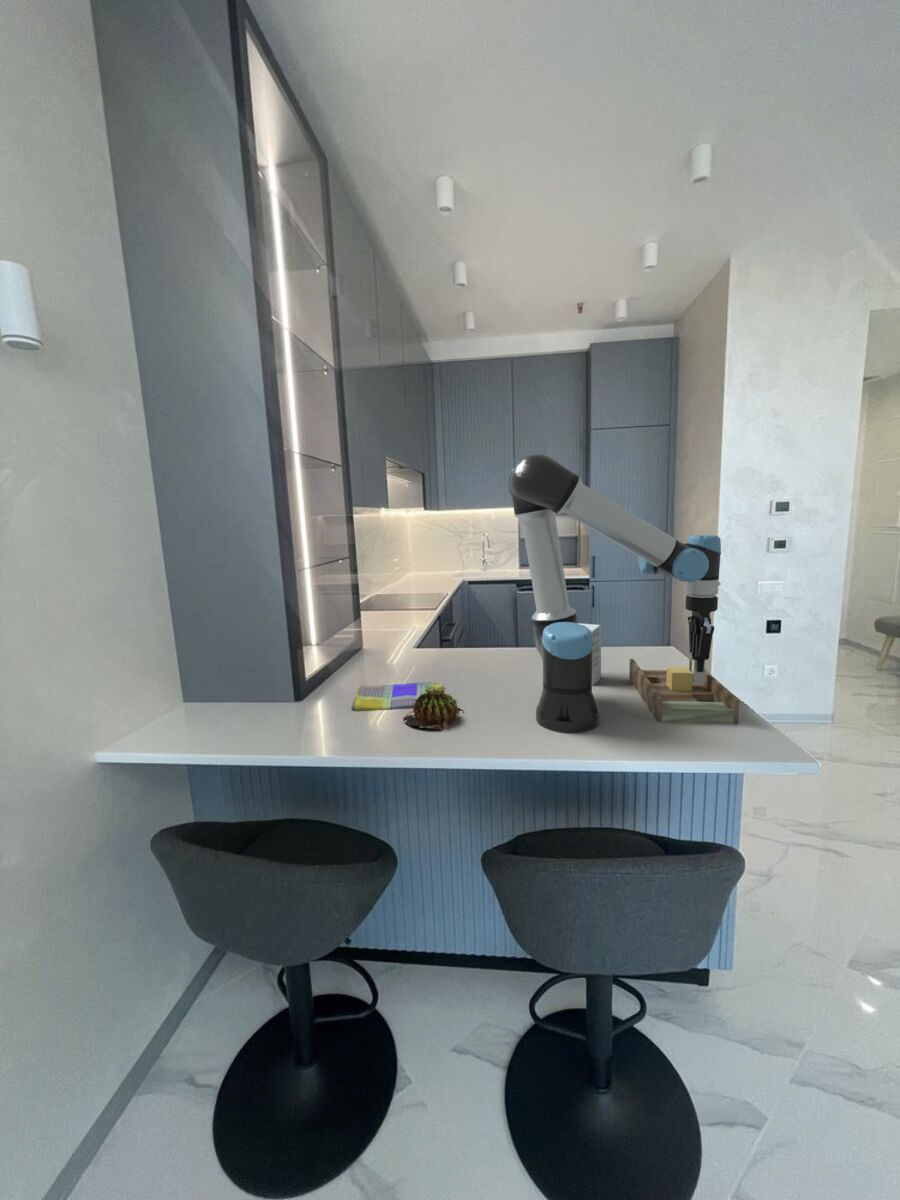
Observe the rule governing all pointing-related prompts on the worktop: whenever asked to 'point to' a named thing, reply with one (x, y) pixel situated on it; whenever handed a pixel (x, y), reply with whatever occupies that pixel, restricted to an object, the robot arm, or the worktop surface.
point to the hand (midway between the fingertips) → (697, 682)
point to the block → (679, 679)
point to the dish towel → (388, 696)
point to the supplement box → (595, 651)
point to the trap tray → (685, 698)
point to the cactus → (434, 709)
